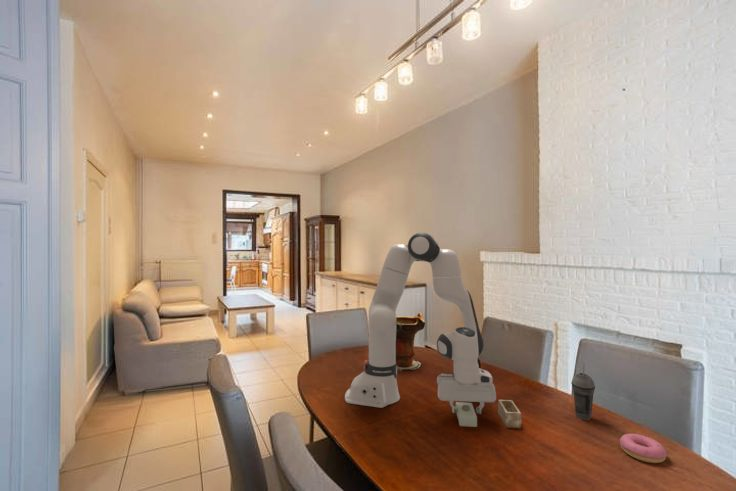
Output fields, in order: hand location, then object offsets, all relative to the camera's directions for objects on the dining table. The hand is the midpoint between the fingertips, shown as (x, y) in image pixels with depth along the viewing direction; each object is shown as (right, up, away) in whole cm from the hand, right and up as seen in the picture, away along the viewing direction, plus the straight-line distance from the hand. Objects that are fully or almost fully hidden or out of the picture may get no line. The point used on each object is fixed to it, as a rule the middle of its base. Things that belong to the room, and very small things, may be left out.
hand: (466, 412), depth 123 cm
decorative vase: (-17, -3, +56) cm, 59 cm away
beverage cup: (+42, -2, 0) cm, 42 cm away
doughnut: (+46, -2, -22) cm, 51 cm away
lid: (0, -2, 0) cm, 2 cm away
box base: (+15, -2, -2) cm, 15 cm away
